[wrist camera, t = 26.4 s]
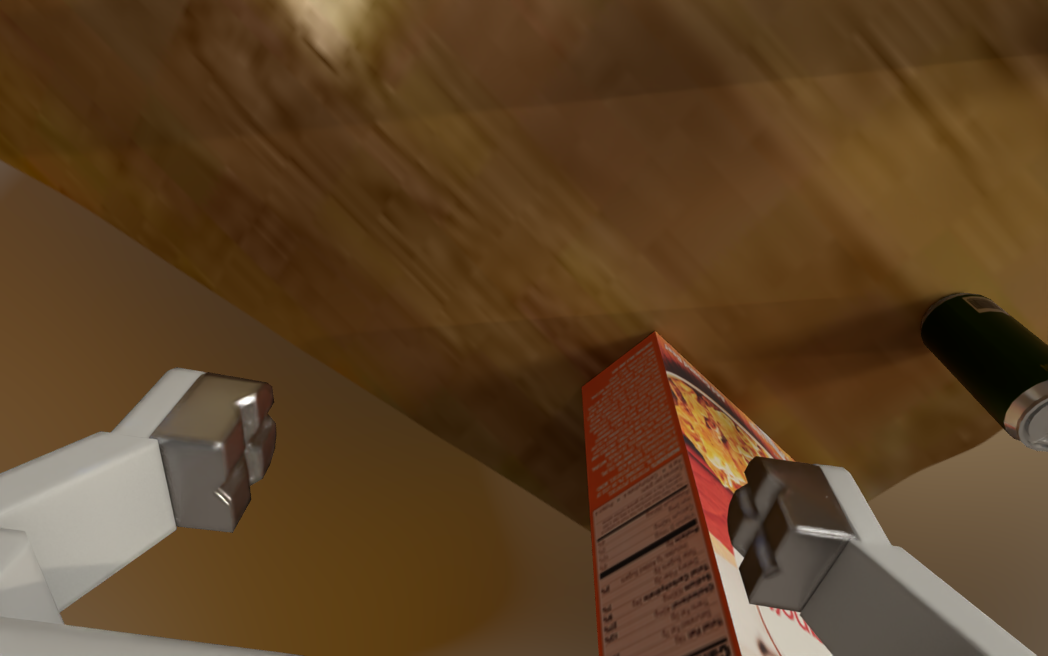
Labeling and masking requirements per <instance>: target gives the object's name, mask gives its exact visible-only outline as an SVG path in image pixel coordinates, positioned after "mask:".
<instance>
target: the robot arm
mask: <svg viewBox="0 0 1048 656" xmlns="http://www.w3.org/2000/svg"><path fill="white" fill-rule="evenodd" d="M273 403H274V397H273V389H272V386H271V385H270V384H268V383H267V382H261V381H255V380H249V379H244V378H238V377H233V376H226V375H221V374H215V373H209V372H208V373H205V372H200V371H195V370H188V369H183V368H174V369H171V370H169V371H167V372H166V373H165V374H164V375H163V377H161V379H160V380H159V381H158V382H157V383H156V384H155V385H154V386H153V387H152V388H151V389H150V390H149V392H148V393H147V394H146V395H145V396H144V397H143V398H142V399H141V400H140V401H139V403H137V405H136V406H135V407H134V408H133V409H132V410H131V411H130V412H129V413H128V414H127V415H126V417H125V418H124V419H123V420H122V421H121V422H120V423H119V424H118V425H117V426H116V427H115V428H114V430H113V431H112V432H111V433H108V432H98V433H96V434H93V435H91V436H88V437H86V438H84V439H81V440H79V441H76V442H74V443H72V444H69V445H67V446H65V447H62V448H60V449H57V450H55V451H53V452H50V453H48V454H46V455H43V456H41V457H38V458H36V459H34V460H31V461H29V462H27V463H24V464H22V465H19V466H17V467H15V468H12V469H10V470H7V471H5V472H3V473H0V656H302V655H295V654H287V653H279V652H272V651H263V650H256V649H248V648H241V647H233V646H225V645H217V644H210V643H201V642H194V641H186V640H179V639H171V638H163V637H155V636H148V635H140V634H132V633H124V632H116V631H108V630H101V629H93V628H86V627H77V626H70V625H65V624H64V622H63V619H62V617H61V615H60V612H61V611H63V610H64V609H65V608H67V607H68V606H70V605H71V604H72V603H74V602H75V601H76V600H78V599H79V598H81V597H82V596H84V595H85V594H87V593H88V592H89V591H91V590H92V589H94V588H95V587H96V586H98V585H99V584H100V583H102V582H103V581H105V580H106V579H108V578H109V577H110V576H112V575H113V574H115V573H116V572H117V571H119V570H120V569H122V568H123V567H125V566H126V565H127V564H129V563H130V562H132V561H133V560H134V559H136V558H137V557H138V556H140V555H141V554H143V553H144V552H146V551H147V550H148V549H150V548H151V547H153V546H154V545H156V544H157V543H158V542H160V541H161V540H162V539H164V538H165V537H167V536H168V535H170V534H171V533H172V532H174V531H175V530H176V529H177V528H176V526H178V527H187V528H196V529H206V530H214V531H224V532H232V533H233V531H234V529H235V527H236V526H237V524H238V522H239V520H240V519H241V517H242V515H243V513H244V511H245V510H246V508H247V506H248V504H249V503H250V501H251V493H250V486H251V485H252V484H254V483H256V482H257V481H259V480H261V479H263V477H264V475H265V473H266V471H267V469H268V467H269V466H270V463H271V459H272V456H273V453H274V449H275V443H276V423H275V422H274V421H273V419H272V418H271V417H270V416H269V415H268V414H267V413H268V412H269V410H270V408H271V407H272V405H273ZM744 473H745V476H746V479H747V482H748V483H747V484H745V485H744V486H742V487H740V488H739V489H737V490H735V492H734V494H733V496H732V499H731V501H730V503H729V508H728V516H727V526H728V534H729V537H730V541H731V545H732V546H733V547H734V548H735V549H736V550H737V551H738V552H739V553H740V554H741V555H742V556H743V557H744V559H743V561H742V563H741V564H740V566H739V571H740V575H741V578H742V581H743V585H744V588H745V591H746V594H747V598H748V601H749V604H753V605H759V606H765V607H771V608H777V609H783V610H789V611H795V612H801V613H800V616H801V617H802V619H803V620H804V621H805V622H806V623H807V625H808V626H809V627H810V628H811V629H812V631H813V632H814V633H815V634H816V636H817V637H818V638H819V639H820V640H821V642H822V643H823V644H824V645H825V646H826V648H827V649H828V650H829V651H830V653H831V654H832V655H833V656H1037V655H1035V654H1034V653H1033V652H1032V651H1030V650H1029V649H1028V648H1027V647H1025V646H1024V645H1023V644H1022V643H1020V642H1019V641H1018V640H1017V639H1015V638H1014V637H1013V636H1012V635H1010V634H1009V633H1008V632H1007V631H1005V630H1004V629H1003V628H1002V627H1000V626H999V625H998V624H997V623H995V622H994V621H993V620H991V619H990V618H989V617H987V615H985V614H984V613H982V612H981V611H980V610H979V609H978V608H977V607H975V606H974V605H973V604H971V603H970V602H969V601H968V600H966V599H965V598H964V597H963V596H961V595H960V594H959V593H958V592H956V591H955V590H954V589H953V588H951V587H950V586H949V585H948V584H946V583H945V582H944V581H943V580H941V579H940V578H939V577H938V576H936V575H935V574H934V573H933V572H931V571H930V570H929V569H928V568H926V567H925V566H924V565H923V564H921V563H920V562H919V561H918V560H916V559H915V558H914V557H913V556H911V555H910V554H909V553H907V552H906V551H905V550H904V549H902V548H901V547H896V546H891V544H890V542H889V540H888V539H887V537H886V535H885V533H884V532H883V530H882V528H881V527H880V525H879V523H878V521H877V519H876V518H875V516H874V514H873V512H872V511H871V509H870V507H869V505H868V504H867V502H866V500H865V498H864V497H863V495H862V493H861V491H860V490H859V488H858V486H857V484H856V483H855V481H854V479H853V477H852V476H851V474H850V473H849V472H848V471H847V470H846V469H844V468H843V467H835V466H827V465H820V464H808V463H801V462H794V461H787V460H780V459H773V458H766V457H759V456H755V457H754V458H753V459H752V460H751V461H750V462H749V464H748V466H747V468H746V470H745V471H744Z"/></svg>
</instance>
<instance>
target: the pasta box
mask: <svg viewBox="0 0 1048 656" xmlns="http://www.w3.org/2000/svg"><path fill="white" fill-rule="evenodd" d="M582 400H583V415H584V431H585V446H586V462H587V477H588V493H589V508H590V524H591V539H592V553H593V554H592V555H593V570H594V585H595V601H596V617H597V632H598V648H599V656H833V655H832V654H831V653H830V651H829V650H828V649H827V648H826V646H825V645H824V644H823V643H822V642H821V640H820V639H819V638H818V637H817V636H816V634H815V633H814V632H813V631H812V629H811V628H810V627H809V626H808V625H807V623H806V622H805V621H804V620H803V619H802V617H801V616H800V613H801V612H795V611H789V610H783V609H777V608H771V607H765V606H759V605H753V604H749V601H748V598H747V594H746V591H745V588H744V585H743V581H742V578H741V575H740V571H739V566H740V564H741V563H742V561H743V559H744V557H743V556H742V555H741V554H740V553H739V552H738V551H737V550H736V549H735V548H734V547H733V546H732V545H731V541H730V537H729V534H728V526H727V516H728V508H729V503H730V501H731V499H732V496H733V494H734V492H735V490H737V489H739V488H740V487H742V486H744V485H745V484H747V483H748V482H747V479H746V476H745V473H744V471H745V470H746V468H747V466H748V464H749V462H750V461H751V460H752V459H753V458H754V457H755V456H759V457H766V458H773V459H780V460H787V461H794V460H793V459H792V458H791V457H790V456H789V455H788V454H787V453H786V452H784V451H783V450H782V449H781V448H780V447H779V446H778V445H777V444H776V443H775V442H774V441H773V440H772V439H771V438H769V437H768V436H767V435H766V434H765V433H764V432H763V431H762V430H761V429H760V428H759V427H758V426H757V425H755V424H754V423H753V422H752V421H751V420H750V419H749V418H748V417H747V416H746V415H745V414H744V413H743V412H742V411H740V410H739V409H738V408H737V407H736V406H735V405H734V404H733V403H732V402H731V401H730V400H729V399H728V398H727V397H725V396H724V395H723V394H722V393H721V392H720V391H719V390H718V389H717V388H716V387H715V386H714V385H713V384H711V383H710V382H709V381H708V380H707V379H706V378H705V377H704V376H703V375H702V374H701V373H700V372H699V371H698V370H696V369H695V368H694V367H693V366H692V365H691V364H690V363H689V362H688V361H687V360H686V359H685V358H684V357H682V356H681V355H680V354H679V353H678V352H677V351H676V350H675V349H674V348H673V347H672V346H671V345H670V344H669V343H667V342H666V341H665V340H664V339H663V338H662V337H661V336H660V335H659V334H658V333H657V332H656V331H654V332H653V333H652V334H650V335H649V336H648V337H647V338H645V339H644V340H643V341H641V342H640V343H639V344H637V345H636V346H635V347H633V348H632V349H631V350H630V351H628V352H627V353H626V354H624V355H623V356H622V357H620V358H619V359H618V360H616V361H615V362H614V363H612V364H611V365H610V366H609V367H607V368H606V369H605V370H603V371H602V372H601V373H599V374H598V375H597V376H595V377H594V378H593V379H592V380H590V381H589V382H588V383H586V384H585V385H584V386H582ZM794 462H795V461H794Z"/></svg>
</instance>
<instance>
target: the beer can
mask: <svg viewBox="0 0 1048 656" xmlns="http://www.w3.org/2000/svg"><path fill="white" fill-rule="evenodd" d="M920 330H921V337H922V340H923V343H924V344H925V345H926V346H927V348H928V349H929V350H930V351H931V352H932V353H933V354H934V355H935V356H936V357H937V358H938V359H939V360H940V361H941V362H942V364H943V365H944V366H945V367H946V368H947V369H948V370H949V371H950V372H951V373H952V374H953V375H954V376H955V377H956V378H957V379H958V381H959V382H960V383H961V384H962V385H963V386H964V387H965V388H966V389H967V390H968V391H969V392H970V393H971V394H972V395H973V397H974V398H975V399H976V400H977V401H978V402H979V403H980V404H981V405H982V406H983V407H984V408H985V409H986V410H987V411H988V412H989V414H990V415H991V416H992V417H993V418H994V419H995V420H996V421H997V422H998V423H999V424H1000V425H1001V426H1002V427H1003V428H1004V430H1006V432H1007V433H1008V434H1009V435H1010V436H1012V437H1013V438H1014V439H1016V440H1019V441H1021V442H1022V443H1023V444H1025V445H1026V447H1028V448H1031V449H1034V450H1036V451H1048V345H1047V344H1045V343H1044V342H1043V341H1042V340H1040V339H1039V338H1038V337H1037V336H1035V335H1034V334H1033V333H1032V332H1030V331H1029V330H1028V329H1027V328H1025V327H1024V326H1023V325H1022V324H1020V323H1019V322H1018V321H1017V320H1015V319H1014V318H1013V317H1012V316H1010V315H1009V314H1008V313H1007V312H1005V311H1004V310H1003V309H1002V308H1000V307H999V306H998V305H997V304H995V303H994V302H993V301H992V300H990V299H989V298H987V297H984V296H982V295H978V294H970V293H959V294H953V295H950V296H947V297H945V298H943V299H941V300H939V301H938V302H936V303H935V304H934V305H932V306H931V307H930V308H929V310H928V311H927V312H926V313H925V315H924V317H923V319H922V321H921V329H920Z"/></svg>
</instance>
